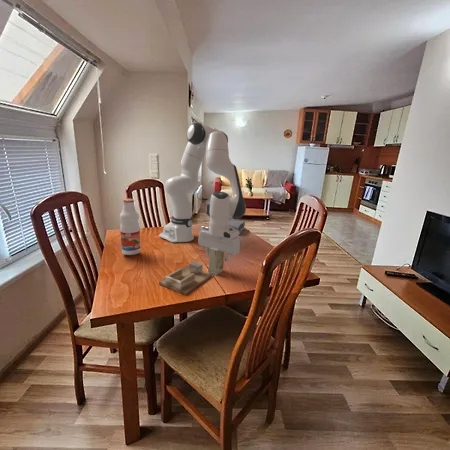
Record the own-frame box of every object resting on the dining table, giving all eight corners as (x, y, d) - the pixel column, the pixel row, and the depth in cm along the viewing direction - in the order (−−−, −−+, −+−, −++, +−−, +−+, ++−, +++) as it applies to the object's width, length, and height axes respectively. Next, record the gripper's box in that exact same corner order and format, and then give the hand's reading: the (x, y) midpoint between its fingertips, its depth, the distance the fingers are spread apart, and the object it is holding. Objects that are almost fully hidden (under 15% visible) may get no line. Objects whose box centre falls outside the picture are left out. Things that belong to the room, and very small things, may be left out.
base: (158, 284, 101) (158, 274, 100) (187, 268, 116) (187, 259, 115) (185, 295, 95) (185, 285, 94) (211, 276, 110) (212, 268, 108)
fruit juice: (143, 248, 135) (140, 198, 127) (137, 255, 126) (135, 201, 118) (125, 248, 135) (122, 197, 127) (119, 255, 126) (115, 200, 118)
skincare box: (216, 276, 111) (217, 250, 107) (208, 273, 113) (209, 248, 109) (223, 270, 116) (225, 246, 112) (216, 268, 118) (217, 244, 114)
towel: (217, 233, 168) (217, 222, 166) (225, 226, 185) (226, 216, 183) (239, 236, 164) (239, 225, 162) (245, 229, 181) (246, 218, 178)
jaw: (189, 271, 110) (189, 263, 109) (193, 268, 113) (193, 261, 112) (198, 274, 108) (198, 267, 107) (202, 271, 111) (202, 264, 110)
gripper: (195, 226, 111) (195, 255, 115) (235, 236, 101) (234, 266, 105) (203, 223, 116) (203, 251, 120) (242, 232, 106) (240, 261, 110)
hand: (217, 258), depth 112 cm, fingers open, 8 cm apart
